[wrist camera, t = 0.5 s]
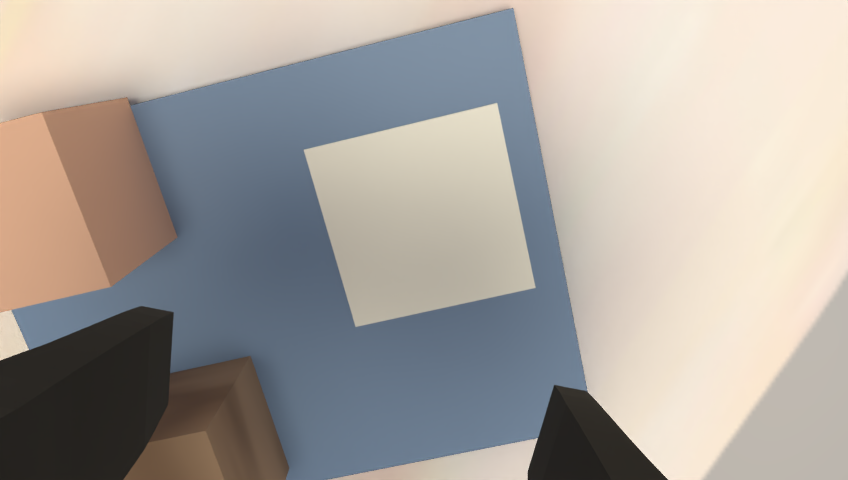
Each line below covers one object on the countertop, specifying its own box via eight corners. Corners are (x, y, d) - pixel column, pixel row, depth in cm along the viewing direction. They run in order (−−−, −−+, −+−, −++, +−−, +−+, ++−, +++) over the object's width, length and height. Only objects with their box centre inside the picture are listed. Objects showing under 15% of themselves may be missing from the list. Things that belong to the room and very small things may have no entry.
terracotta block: (47, 268, 22) (-51, 324, 17) (-10, 132, 20) (-131, 156, 16) (177, 237, 21) (110, 286, 17) (127, 97, 20) (41, 112, 16)
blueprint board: (116, 508, 25) (105, 525, 24) (-41, 149, 21) (-61, 154, 20) (589, 414, 24) (594, 428, 23) (510, 9, 20) (513, 8, 19)
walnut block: (170, 492, 24) (111, 590, 20) (125, 382, 23) (52, 462, 18) (289, 468, 24) (256, 563, 19) (250, 355, 22) (205, 430, 18)
